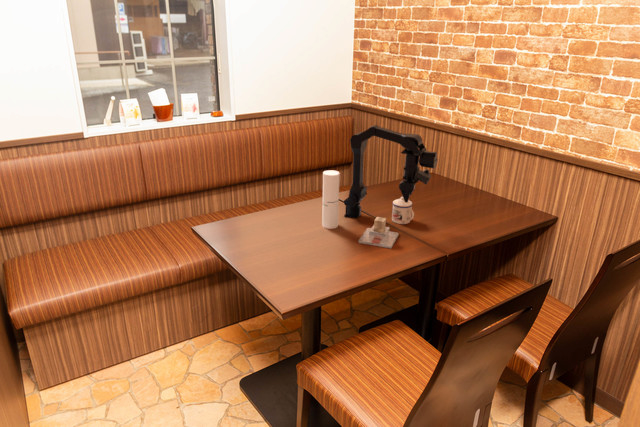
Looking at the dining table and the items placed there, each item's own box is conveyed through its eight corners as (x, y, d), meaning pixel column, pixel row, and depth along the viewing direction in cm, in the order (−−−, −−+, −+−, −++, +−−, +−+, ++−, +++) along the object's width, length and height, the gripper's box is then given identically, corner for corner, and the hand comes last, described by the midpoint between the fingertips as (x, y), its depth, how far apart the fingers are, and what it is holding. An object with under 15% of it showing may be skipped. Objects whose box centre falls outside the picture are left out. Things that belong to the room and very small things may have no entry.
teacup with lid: (387, 219, 217) (388, 196, 213) (401, 215, 222) (403, 192, 217) (405, 228, 208) (407, 204, 204) (419, 223, 213) (422, 200, 208)
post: (373, 237, 196) (374, 220, 193) (375, 233, 200) (376, 216, 197) (382, 239, 195) (383, 221, 192) (384, 235, 199) (386, 218, 196)
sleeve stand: (358, 242, 194) (359, 233, 192) (367, 229, 206) (368, 220, 205) (391, 248, 190) (392, 238, 188) (398, 234, 202) (399, 225, 200)
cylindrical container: (336, 229, 206) (338, 175, 196) (320, 227, 207) (321, 174, 198) (339, 223, 213) (340, 170, 203) (323, 221, 214) (324, 169, 204)
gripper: (427, 173, 187) (423, 208, 193) (433, 160, 203) (429, 194, 210) (400, 169, 190) (397, 205, 197) (408, 158, 207) (404, 190, 213)
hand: (408, 198), depth 204 cm, fingers open, 9 cm apart
